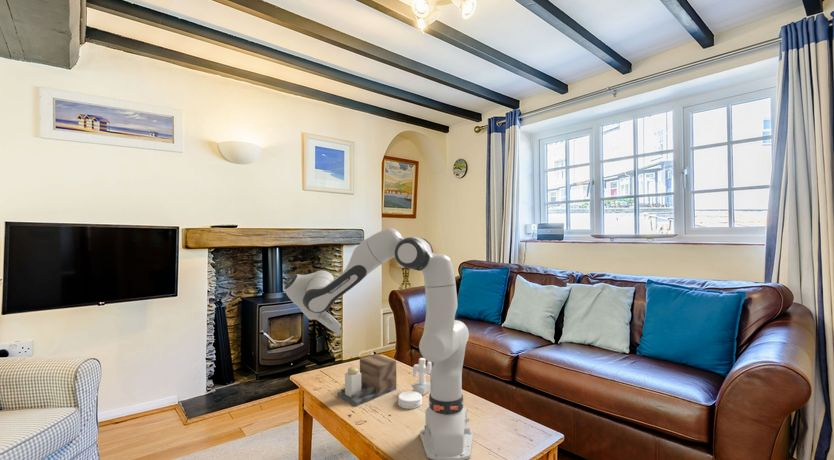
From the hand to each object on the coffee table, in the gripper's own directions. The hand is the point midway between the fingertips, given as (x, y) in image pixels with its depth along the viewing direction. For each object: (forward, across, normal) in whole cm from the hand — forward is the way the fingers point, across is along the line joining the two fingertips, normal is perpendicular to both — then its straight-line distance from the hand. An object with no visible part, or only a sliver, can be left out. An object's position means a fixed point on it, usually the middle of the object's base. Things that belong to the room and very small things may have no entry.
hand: (334, 330), depth 156 cm
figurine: (+46, -16, -8) cm, 49 cm away
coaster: (+39, -21, 0) cm, 44 cm away
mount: (+35, -1, +7) cm, 36 cm away
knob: (+28, -2, +13) cm, 31 cm away
